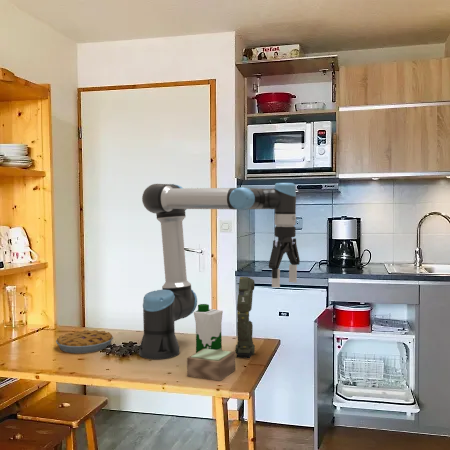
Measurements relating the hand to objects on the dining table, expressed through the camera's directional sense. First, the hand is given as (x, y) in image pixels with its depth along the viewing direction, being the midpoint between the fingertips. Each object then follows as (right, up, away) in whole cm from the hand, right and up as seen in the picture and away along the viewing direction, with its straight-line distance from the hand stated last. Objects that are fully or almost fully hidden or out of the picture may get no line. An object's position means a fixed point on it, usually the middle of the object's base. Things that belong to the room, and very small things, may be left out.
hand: (284, 284), depth 185 cm
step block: (-26, -28, -13) cm, 40 cm away
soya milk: (-27, -28, +1) cm, 39 cm away
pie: (-78, -28, +21) cm, 85 cm away
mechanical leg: (-14, -27, +9) cm, 32 cm away
